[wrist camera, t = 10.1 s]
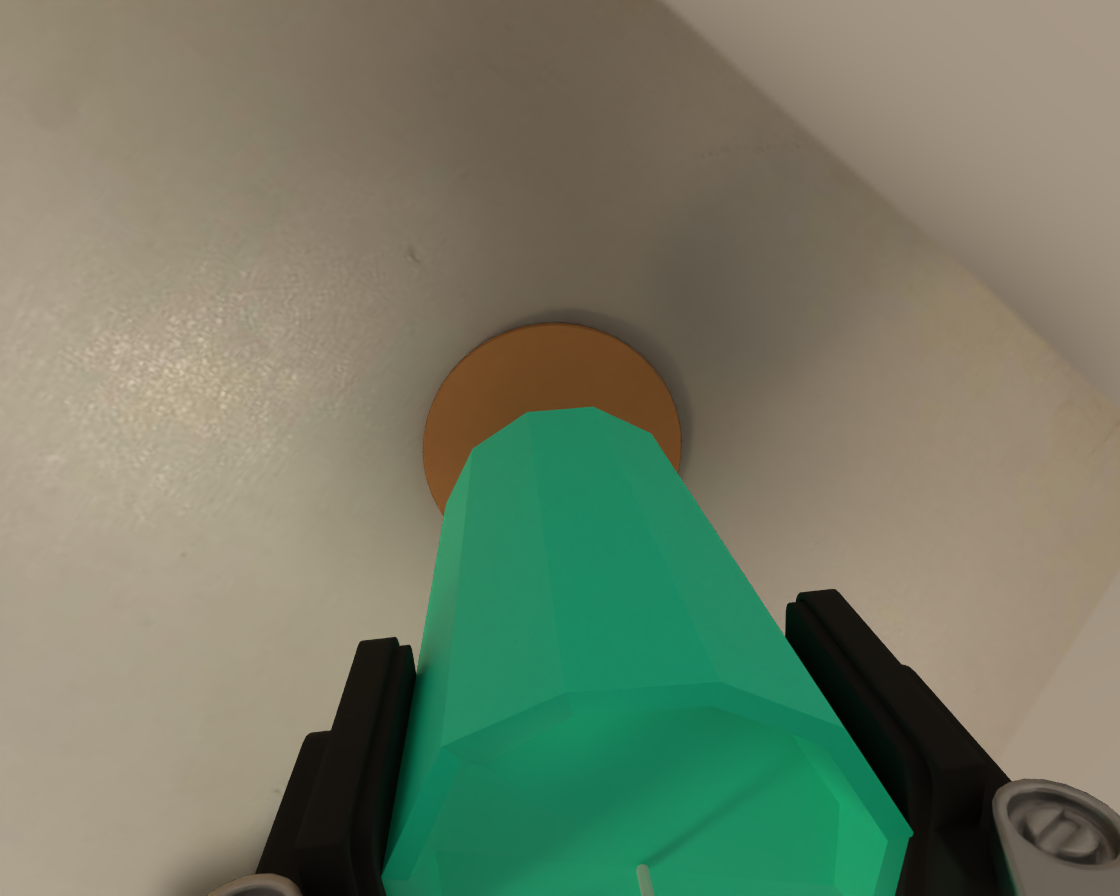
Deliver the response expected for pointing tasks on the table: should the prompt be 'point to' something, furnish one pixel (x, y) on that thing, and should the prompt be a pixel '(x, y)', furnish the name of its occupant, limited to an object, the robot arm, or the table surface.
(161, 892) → the table surface
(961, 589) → the table surface
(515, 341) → the coaster
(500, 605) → the candle
